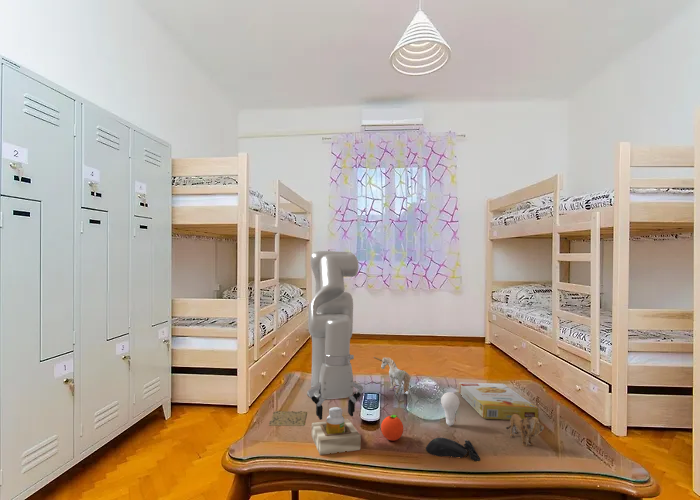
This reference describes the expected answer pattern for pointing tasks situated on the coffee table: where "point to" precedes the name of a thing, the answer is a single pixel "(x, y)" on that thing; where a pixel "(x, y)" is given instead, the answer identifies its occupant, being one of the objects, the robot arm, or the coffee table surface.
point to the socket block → (335, 438)
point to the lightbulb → (450, 406)
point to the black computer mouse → (451, 448)
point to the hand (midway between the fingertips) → (335, 416)
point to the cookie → (288, 418)
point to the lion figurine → (525, 427)
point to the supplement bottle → (335, 421)
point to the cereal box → (496, 401)
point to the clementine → (392, 428)
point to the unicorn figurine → (396, 374)
